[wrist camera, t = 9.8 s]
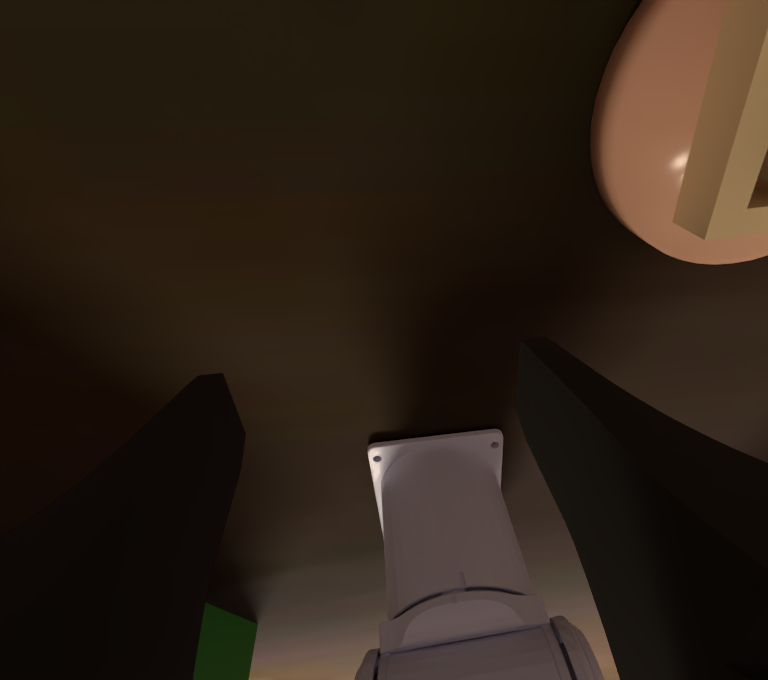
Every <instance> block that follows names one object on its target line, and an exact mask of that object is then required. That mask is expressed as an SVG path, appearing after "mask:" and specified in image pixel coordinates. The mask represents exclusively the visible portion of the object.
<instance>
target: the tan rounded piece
mask: <svg viewBox="0 0 768 680" xmlns="http://www.w3.org/2000/svg"><path fill="white" fill-rule="evenodd" d="M767 149H768V0H642V2H641V3H640V5H639V6H638V8H637V9H636V11H635V13H634V14H633V16H632V17H631V19H630V20H629V22H628V23H627V25H626V27H625V28H624V30H623V32H622V34H621V36H620V38H619V40H618V42H617V43H616V45H615V47H614V49H613V51H612V54H611V56H610V59H609V61H608V63H607V66H606V68H605V71H604V73H603V76H602V79H601V82H600V86H599V89H598V92H597V96H596V100H595V105H594V110H593V115H592V121H591V134H590V152H591V164H592V169H593V174H594V179H595V182H596V185H597V187H598V190H599V193H600V195H601V197H602V199H603V201H604V203H605V204H606V206H607V208H608V209H609V211H610V212H611V213H612V214H613V216H614V217H615V218H616V219H617V220H618V221H619V222H620V223H621V224H622V225H623V226H624V227H626V228H627V229H628V230H629V231H631V232H632V233H634V234H635V235H637V236H638V237H640V238H641V239H643V240H644V241H646V242H647V243H649V244H650V245H652V246H653V247H655V248H656V249H658V250H660V251H661V252H663V253H665V254H667V255H669V256H672V257H675V258H677V259H680V260H683V261H688V262H693V263H699V264H729V263H737V262H742V261H748V260H753V259H756V258H760V257H763V256H767V255H768V182H767V181H764V180H761V179H758V175H759V172H760V169H761V166H762V163H763V160H764V157H765V154H766V152H767Z"/></svg>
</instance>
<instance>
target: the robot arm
mask: <svg viewBox="0 0 768 680" xmlns="http://www.w3.org/2000/svg"><path fill="white" fill-rule="evenodd" d="M515 406H516V409H517V413H518V416H519V419H520V422H521V426H522V428H523V431H524V434H525V437H526V440H527V443H528V445H529V447H530V449H531V451H532V453H533V456H534V458H535V460H536V462H537V464H538V466H539V468H540V470H541V472H542V475H543V477H544V479H545V481H546V483H547V485H548V487H549V489H550V491H551V493H552V495H553V497H554V500H555V502H556V504H557V506H558V508H559V510H560V512H561V514H562V516H563V518H564V520H565V523H566V525H567V527H568V530H569V532H570V534H571V537H572V539H573V541H574V544H575V547H576V550H577V552H578V555H579V558H580V561H581V564H582V566H583V569H584V572H585V575H586V577H587V580H588V583H589V586H590V589H591V592H592V595H593V598H594V601H595V604H596V606H597V609H598V612H599V615H600V618H601V621H602V624H603V627H604V630H605V633H606V636H607V639H608V643H609V646H610V649H611V652H612V655H613V658H614V662H615V665H616V668H617V671H618V674H619V677H620V680H768V463H766V462H764V461H761V460H759V459H757V458H754V457H752V456H750V455H747V454H745V453H743V452H740V451H738V450H736V449H733V448H731V447H729V446H727V445H725V444H723V443H720V442H718V441H716V440H714V439H712V438H710V437H708V436H706V435H704V434H702V433H700V432H698V431H696V430H694V429H692V428H690V427H688V426H686V425H684V424H682V423H680V422H678V421H676V420H674V419H673V418H671V417H669V416H667V415H665V414H663V413H662V412H660V411H658V410H656V409H655V408H653V407H651V406H650V405H648V404H646V403H645V402H643V401H641V400H639V399H638V398H636V397H634V396H633V395H631V394H630V393H628V392H626V391H625V390H623V389H622V388H620V387H618V386H617V385H615V384H614V383H612V382H611V381H609V380H608V379H606V378H605V377H603V376H602V375H600V374H599V373H597V372H596V371H594V370H593V369H591V368H590V367H588V366H587V365H586V364H584V363H583V362H581V361H580V360H578V359H577V358H576V357H574V356H573V355H571V354H570V353H568V352H567V351H566V350H564V349H563V348H561V347H560V346H558V345H557V344H556V343H554V342H553V341H551V340H549V339H548V338H546V337H543V338H534V339H525V340H520V350H519V362H518V374H517V386H516V398H515ZM245 435H246V434H245V431H244V428H243V426H242V423H241V420H240V418H239V415H238V412H237V410H236V407H235V404H234V402H233V399H232V396H231V394H230V391H229V388H228V386H227V383H226V380H225V377H224V375H223V373H219V374H210V375H201V376H197V377H196V378H195V379H194V380H192V381H191V382H190V383H189V384H188V385H187V386H186V387H185V388H184V389H183V390H181V391H180V392H179V393H178V394H177V395H176V396H175V397H174V398H173V399H172V400H171V401H170V402H169V403H168V404H167V405H166V406H165V407H164V408H163V409H162V410H160V411H159V412H158V413H157V414H156V415H155V416H154V417H153V418H152V419H151V420H150V421H149V422H148V423H147V424H146V425H145V426H143V427H142V428H141V429H140V430H139V431H138V432H137V433H136V434H135V435H134V436H133V437H132V438H130V439H129V440H128V441H127V442H126V443H125V444H124V445H122V446H121V447H120V448H119V449H118V450H117V451H116V452H114V453H113V454H112V455H111V456H110V457H109V458H107V459H106V460H105V461H104V462H103V463H102V464H101V465H99V466H98V467H97V468H96V469H95V470H94V471H92V472H91V473H90V474H89V475H87V476H86V477H85V478H84V479H82V480H81V481H80V482H79V483H77V484H76V485H75V486H74V487H72V488H71V489H70V490H68V491H67V492H66V493H64V494H63V495H62V496H60V497H59V498H58V499H56V500H55V501H54V502H52V503H51V504H50V505H48V506H47V507H45V508H44V509H43V510H41V511H40V512H38V513H37V514H36V515H34V516H33V517H31V518H30V519H28V520H27V521H25V522H24V523H22V524H21V525H19V526H18V527H16V528H15V529H13V530H12V531H10V532H9V533H7V534H6V535H4V536H3V537H1V538H0V680H193V675H194V669H195V662H196V656H197V650H198V644H199V638H200V631H201V625H202V620H203V614H204V609H205V603H206V598H207V593H208V587H209V582H210V577H211V573H212V569H213V565H214V561H215V557H216V554H217V551H218V547H219V544H220V540H221V537H222V534H223V530H224V527H225V523H226V520H227V516H228V513H229V510H230V506H231V503H232V499H233V496H234V492H235V489H236V485H237V482H238V478H239V474H240V470H241V464H242V457H243V450H244V443H245ZM493 442H496V443H493ZM502 454H503V434H502V432H501V431H500V430H499V429H488V430H479V431H471V432H462V433H454V434H445V435H437V436H428V437H420V438H411V439H403V440H394V441H386V442H377V443H372V444H370V445H369V446H368V458H369V463H370V468H371V474H372V479H373V484H374V490H375V495H376V500H377V506H378V511H379V516H380V522H381V527H382V533H383V538H384V550H385V568H386V585H387V602H388V620H389V621H386V622H382V623H380V624H379V636H380V648H378V649H371V650H369V651H368V652H367V653H366V655H365V657H364V659H363V662H362V664H361V666H360V668H359V669H358V671H357V673H356V676H355V680H605V679H604V677H603V674H602V672H601V669H600V667H599V665H598V662H597V660H596V658H595V656H594V653H593V651H592V649H591V647H590V645H589V643H588V641H587V639H586V638H585V636H584V634H583V633H582V632H581V631H580V630H579V629H578V628H577V627H575V626H574V625H572V624H571V623H569V621H568V620H567V619H566V618H565V617H563V616H557V617H552V618H550V621H549V618H548V615H547V612H546V609H545V606H544V603H543V600H542V597H541V595H540V594H534V591H533V588H532V585H531V582H530V579H529V576H528V573H527V569H526V566H525V563H524V560H523V557H522V554H521V551H520V548H519V545H518V542H517V539H516V536H515V533H514V530H513V527H512V524H511V520H510V517H509V514H508V511H507V508H506V505H505V502H504V499H503V496H502V493H501V473H502ZM375 456H379V457H375Z"/></svg>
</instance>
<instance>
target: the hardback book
mask: <svg viewBox="0 0 768 680" xmlns="http://www.w3.org/2000/svg"><path fill="white" fill-rule="evenodd" d="M257 626H258V624H256V623H254V622H251V621H249V620H246V619H244V618H242V617H239V616H237V615H234V614H232V613H229V612H227V611H225V610H222V609H220V608H217V607H215V606H213V605H210V604H208V603H205V609H204V614H203V620H202V625H201V631H200V638H199V644H198V650H197V656H196V662H195V669H194V675H193V680H248V679H249V673H250V667H251V661H252V655H253V649H254V643H255V638H256V632H257Z"/></svg>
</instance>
